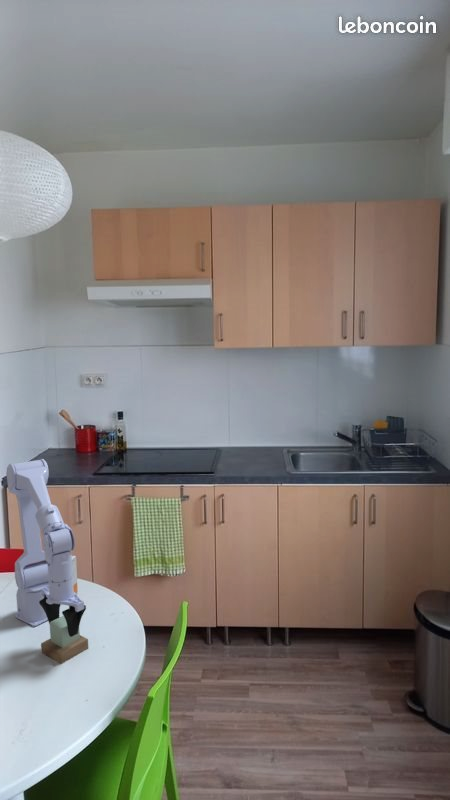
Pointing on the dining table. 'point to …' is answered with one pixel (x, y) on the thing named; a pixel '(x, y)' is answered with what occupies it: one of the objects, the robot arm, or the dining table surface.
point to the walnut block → (64, 649)
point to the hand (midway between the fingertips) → (63, 630)
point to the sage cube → (61, 633)
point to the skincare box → (74, 574)
